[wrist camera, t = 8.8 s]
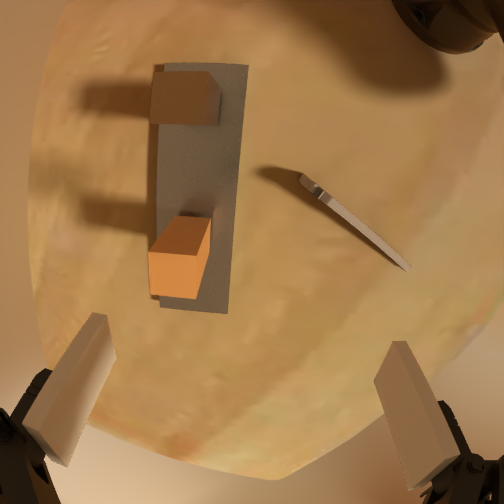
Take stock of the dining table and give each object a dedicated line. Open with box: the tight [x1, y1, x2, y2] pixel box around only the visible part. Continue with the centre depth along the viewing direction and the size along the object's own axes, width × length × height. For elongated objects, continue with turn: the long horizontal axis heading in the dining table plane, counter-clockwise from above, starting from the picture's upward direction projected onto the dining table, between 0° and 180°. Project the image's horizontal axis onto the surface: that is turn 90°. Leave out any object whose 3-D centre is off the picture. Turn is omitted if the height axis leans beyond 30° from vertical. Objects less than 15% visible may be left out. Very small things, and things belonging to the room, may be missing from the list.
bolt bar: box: [149, 63, 249, 314], centre depth 29 cm, size 9×30×13 cm, turn 175°
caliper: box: [298, 174, 411, 271], centre depth 34 cm, size 20×1×6 cm, turn 54°
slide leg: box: [148, 216, 211, 299], centre depth 29 cm, size 4×4×11 cm
